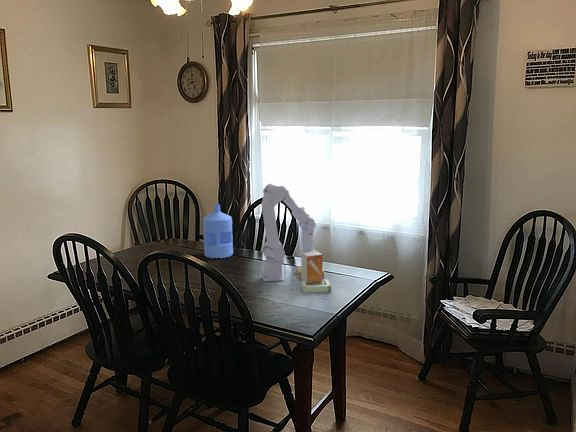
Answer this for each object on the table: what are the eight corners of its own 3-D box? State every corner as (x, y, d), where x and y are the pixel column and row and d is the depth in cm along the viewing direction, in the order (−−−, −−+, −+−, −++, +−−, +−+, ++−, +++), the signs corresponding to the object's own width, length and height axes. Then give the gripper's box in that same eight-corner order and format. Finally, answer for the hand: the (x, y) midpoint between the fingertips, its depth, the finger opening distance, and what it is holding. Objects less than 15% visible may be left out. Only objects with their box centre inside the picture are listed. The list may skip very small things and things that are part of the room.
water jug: (205, 251, 275) (202, 202, 269) (233, 250, 277) (231, 201, 271) (203, 259, 260) (201, 207, 254) (233, 258, 262) (231, 206, 256)
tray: (303, 292, 211) (303, 287, 210) (301, 286, 219) (301, 280, 218) (331, 291, 212) (331, 285, 212) (327, 285, 220) (327, 279, 219)
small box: (306, 284, 221) (306, 256, 219) (301, 279, 227) (300, 252, 224) (322, 281, 224) (323, 254, 222) (316, 277, 230) (316, 250, 228)
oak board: (298, 279, 229) (298, 272, 228) (295, 272, 239) (295, 266, 238) (324, 277, 231) (324, 271, 230) (319, 271, 240) (320, 265, 240)
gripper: (318, 245, 231) (317, 272, 234) (313, 237, 245) (313, 263, 248) (303, 245, 230) (303, 273, 233) (299, 238, 244) (299, 264, 247)
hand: (307, 268), depth 240 cm, fingers closed
